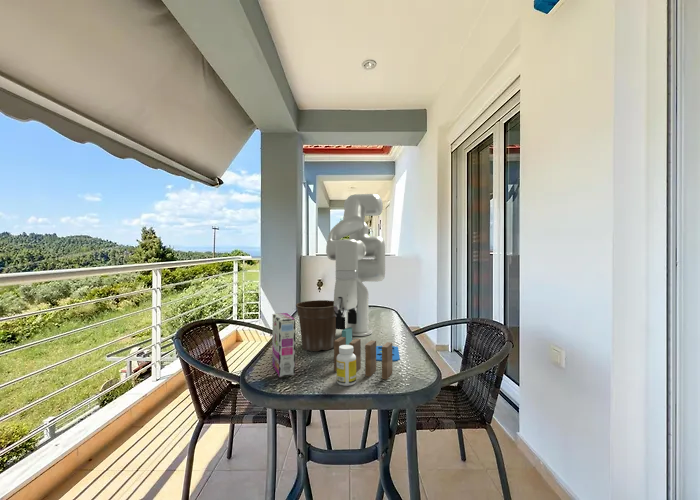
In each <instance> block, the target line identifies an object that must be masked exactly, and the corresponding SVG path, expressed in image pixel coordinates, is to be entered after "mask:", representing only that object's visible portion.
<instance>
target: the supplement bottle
mask: <svg viewBox="0 0 700 500" xmlns="http://www.w3.org/2000/svg"><path fill="white" fill-rule="evenodd" d="M353 351H354V349H353V346H352V345H341V346H339V353H340V354H338V355H337V371H336V383H337V384H338V385H340V386H345V387H347V386H353V385H355V384H356V383H357V372H356V356H355V354H353Z"/></svg>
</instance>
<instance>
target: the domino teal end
mask: <svg viewBox="0 0 700 500" xmlns="http://www.w3.org/2000/svg"><path fill="white" fill-rule="evenodd" d="M345 328H346V327H345ZM341 337H346V345H349V343H350V342H351V341H353V336H352V328H349V327H348V328H346V329H344V330H341Z"/></svg>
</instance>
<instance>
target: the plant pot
mask: <svg viewBox="0 0 700 500" xmlns="http://www.w3.org/2000/svg"><path fill="white" fill-rule="evenodd" d="M295 307H296V309H297V315H298V319H299V320H298V321H299V326H300V328H299V329H300V337H301V338H300V339H301V347H302V348H303V350H305V351H309V352H320V351H322V350H323V351H329V350H331V349H334V341H335V340H336V336H337V335H336V334H337V329H336V317H335V312H334V311H335V309H334V300H325V299H323V300H321V299H319V300H306V301H305V300H304V301H300V302H297V303H296V304H295Z"/></svg>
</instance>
